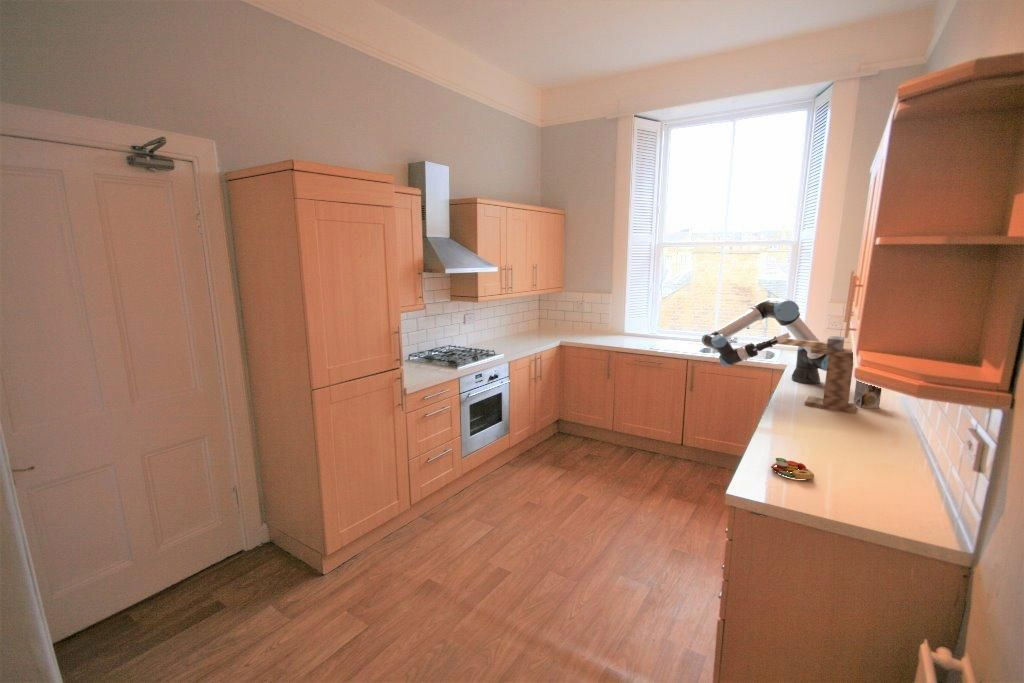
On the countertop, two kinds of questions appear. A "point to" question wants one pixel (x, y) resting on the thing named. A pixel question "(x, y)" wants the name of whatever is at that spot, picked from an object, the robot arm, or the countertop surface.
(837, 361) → the walnut stand
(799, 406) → the countertop surface
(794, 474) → the toy food set
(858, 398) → the coffee box
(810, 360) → the robot arm
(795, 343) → the wooden handled hammer
